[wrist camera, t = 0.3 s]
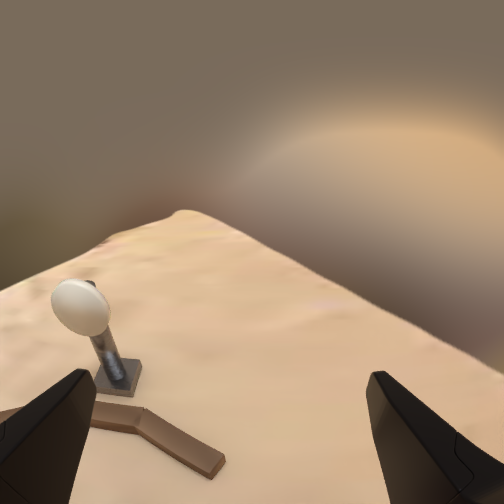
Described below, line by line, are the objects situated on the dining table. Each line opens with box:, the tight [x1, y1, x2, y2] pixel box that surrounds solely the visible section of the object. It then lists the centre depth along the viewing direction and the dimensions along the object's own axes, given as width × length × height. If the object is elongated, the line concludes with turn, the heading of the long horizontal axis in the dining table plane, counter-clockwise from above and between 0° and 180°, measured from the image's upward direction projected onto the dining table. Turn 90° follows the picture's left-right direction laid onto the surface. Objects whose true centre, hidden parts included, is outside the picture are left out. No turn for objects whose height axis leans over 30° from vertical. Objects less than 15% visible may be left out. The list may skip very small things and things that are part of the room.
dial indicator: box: [51, 278, 142, 397], centre depth 25 cm, size 4×5×12 cm
